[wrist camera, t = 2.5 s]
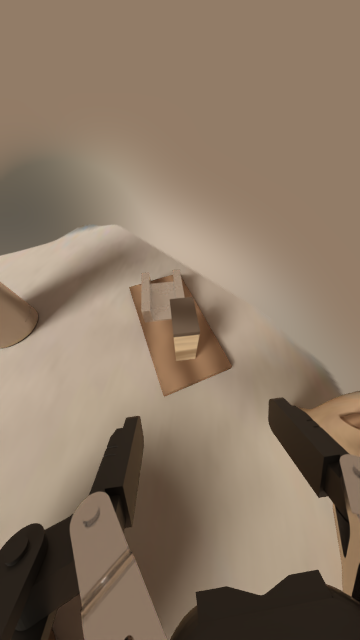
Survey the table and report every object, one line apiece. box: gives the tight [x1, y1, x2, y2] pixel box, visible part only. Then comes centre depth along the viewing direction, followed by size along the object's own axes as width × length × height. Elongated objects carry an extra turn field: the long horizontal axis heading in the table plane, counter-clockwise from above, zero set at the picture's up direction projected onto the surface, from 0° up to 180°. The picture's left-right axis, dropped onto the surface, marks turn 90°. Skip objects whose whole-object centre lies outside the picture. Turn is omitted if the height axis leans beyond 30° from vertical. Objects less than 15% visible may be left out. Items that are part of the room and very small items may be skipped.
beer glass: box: [300, 391, 360, 457], centre depth 16 cm, size 7×7×15 cm
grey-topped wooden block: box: [170, 297, 200, 361], centre depth 24 cm, size 5×3×9 cm, turn 7°
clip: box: [141, 270, 185, 322], centre depth 31 cm, size 9×7×3 cm
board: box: [129, 275, 232, 397], centre depth 31 cm, size 11×22×1 cm, turn 22°
